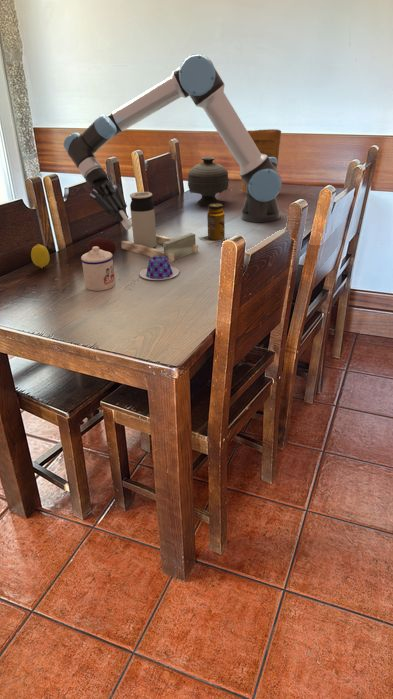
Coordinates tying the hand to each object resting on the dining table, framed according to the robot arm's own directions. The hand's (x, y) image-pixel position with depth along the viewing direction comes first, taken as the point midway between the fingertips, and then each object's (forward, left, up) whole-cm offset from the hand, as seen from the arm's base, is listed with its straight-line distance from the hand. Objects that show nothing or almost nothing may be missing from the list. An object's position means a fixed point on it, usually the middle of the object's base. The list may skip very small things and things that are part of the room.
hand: (129, 227), depth 187 cm
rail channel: (-13, +6, -5) cm, 15 cm away
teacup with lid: (-7, +38, -6) cm, 39 cm away
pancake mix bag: (-30, -81, -6) cm, 87 cm away
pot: (-12, -59, -6) cm, 61 cm away
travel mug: (-7, +3, -6) cm, 9 cm away
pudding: (-21, +27, -6) cm, 35 cm away
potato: (+4, +15, -6) cm, 16 cm away
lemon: (+18, +30, -6) cm, 35 cm away
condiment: (-28, -10, -6) cm, 30 cm away
